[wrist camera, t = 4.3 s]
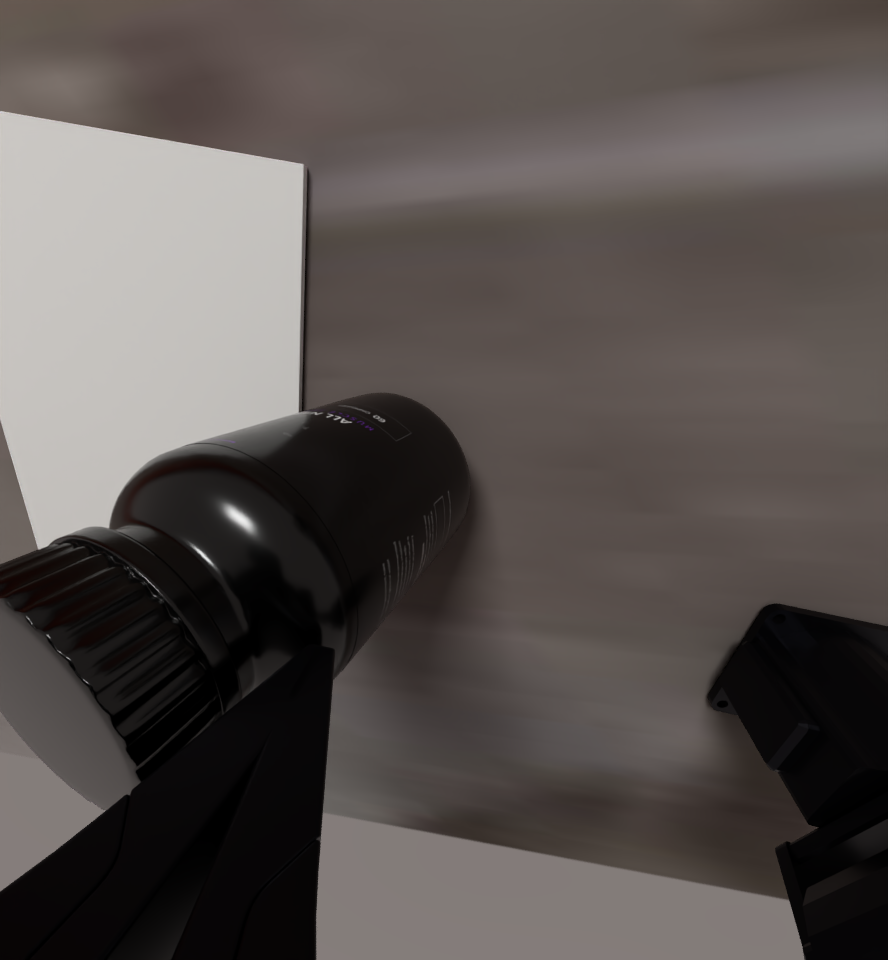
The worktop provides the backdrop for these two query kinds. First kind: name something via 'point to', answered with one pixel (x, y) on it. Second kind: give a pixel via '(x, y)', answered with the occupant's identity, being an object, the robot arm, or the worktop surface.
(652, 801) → the worktop surface
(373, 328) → the worktop surface
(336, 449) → the supplement bottle
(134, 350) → the mat
